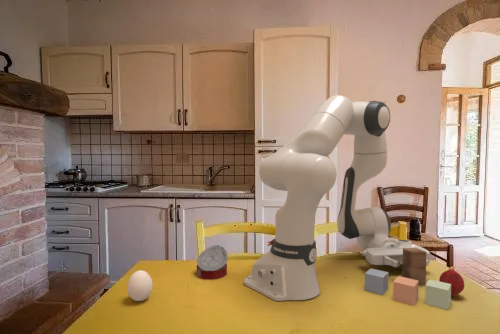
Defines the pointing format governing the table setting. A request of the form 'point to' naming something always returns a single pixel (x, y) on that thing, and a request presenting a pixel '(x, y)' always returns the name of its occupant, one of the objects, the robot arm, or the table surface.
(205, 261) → the canned food
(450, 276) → the pomegranate
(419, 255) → the block walnut
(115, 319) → the table surface
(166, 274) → the table surface
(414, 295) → the cube terracotta
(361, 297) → the table surface
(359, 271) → the table surface
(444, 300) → the cube sage
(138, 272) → the egg
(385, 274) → the cube slate
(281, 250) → the robot arm
